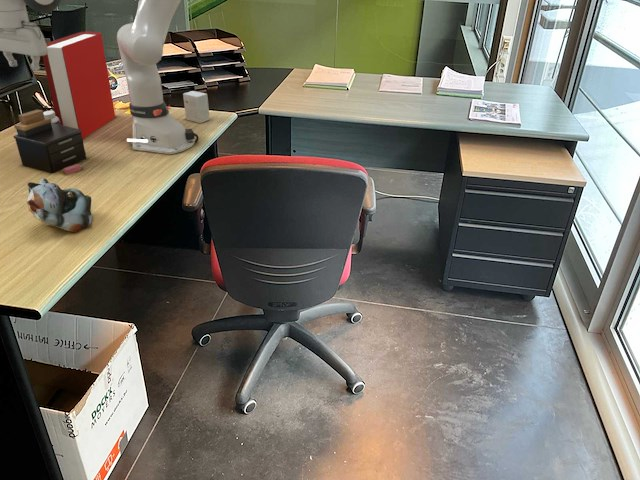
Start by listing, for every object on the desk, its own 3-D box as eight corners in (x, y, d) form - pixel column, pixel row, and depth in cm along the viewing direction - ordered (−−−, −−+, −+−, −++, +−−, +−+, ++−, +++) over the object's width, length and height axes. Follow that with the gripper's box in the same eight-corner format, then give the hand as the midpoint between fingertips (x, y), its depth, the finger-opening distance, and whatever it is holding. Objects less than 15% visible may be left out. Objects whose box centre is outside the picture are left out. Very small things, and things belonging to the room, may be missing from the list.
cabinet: (88, 159, 178) (82, 129, 173) (53, 174, 167) (45, 143, 162) (58, 151, 183) (51, 122, 178) (21, 165, 172) (13, 135, 167)
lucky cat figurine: (92, 232, 137) (54, 197, 126) (51, 249, 138) (10, 216, 128) (97, 193, 147) (62, 157, 136) (59, 209, 148) (21, 175, 138)
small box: (210, 119, 216) (207, 93, 211) (200, 123, 212) (197, 96, 207) (195, 116, 220) (192, 90, 214) (185, 119, 216) (182, 93, 210)
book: (81, 139, 193) (62, 46, 177) (60, 137, 194) (39, 45, 178) (117, 116, 217) (102, 32, 200) (98, 114, 218) (82, 31, 201)
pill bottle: (68, 136, 194) (59, 110, 188) (56, 142, 190) (47, 116, 185) (58, 133, 196) (49, 108, 190) (46, 139, 193) (36, 114, 187)
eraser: (78, 168, 172) (77, 164, 171) (81, 169, 171) (80, 165, 170) (64, 172, 169) (63, 168, 168) (67, 174, 167) (66, 170, 167)
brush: (53, 128, 174) (49, 109, 171) (26, 137, 166) (21, 118, 163) (43, 125, 176) (39, 107, 173) (16, 134, 168) (11, 116, 165)
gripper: (46, 21, 157) (57, 69, 164) (-3, 15, 164) (10, 62, 171) (28, 24, 152) (40, 74, 159) (-22, 18, 159) (-8, 66, 166)
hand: (24, 68), depth 165 cm, fingers open, 8 cm apart
